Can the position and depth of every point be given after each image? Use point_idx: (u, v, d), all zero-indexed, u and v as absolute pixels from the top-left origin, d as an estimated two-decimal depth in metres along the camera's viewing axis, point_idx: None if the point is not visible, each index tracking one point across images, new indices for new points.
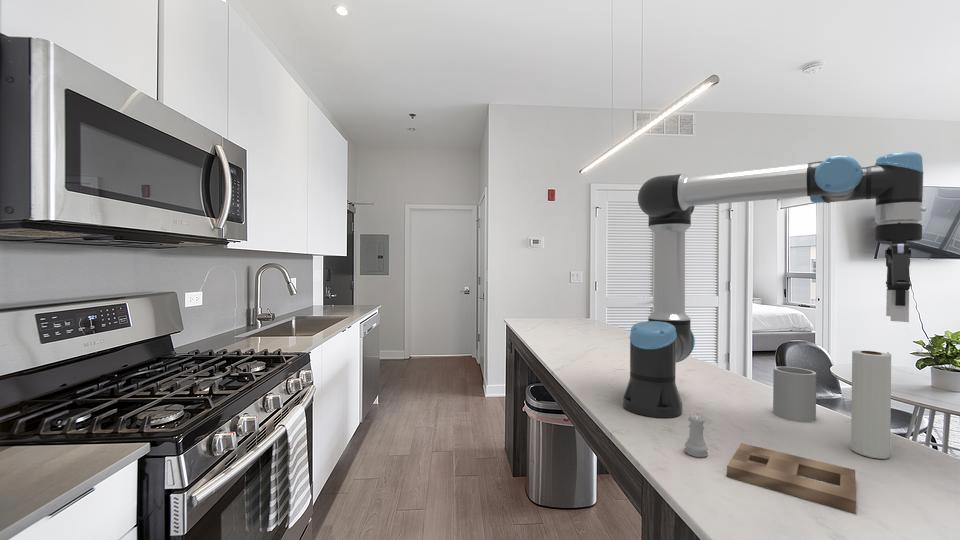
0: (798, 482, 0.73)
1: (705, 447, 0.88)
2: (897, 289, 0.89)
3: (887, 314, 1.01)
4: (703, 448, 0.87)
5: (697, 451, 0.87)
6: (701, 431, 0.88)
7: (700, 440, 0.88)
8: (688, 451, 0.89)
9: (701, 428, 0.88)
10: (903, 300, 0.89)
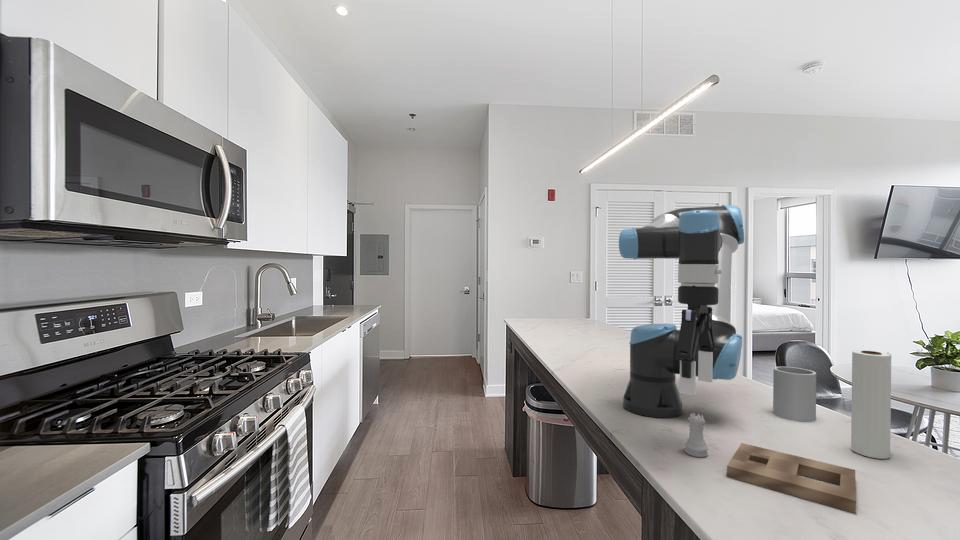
0: (798, 482, 0.73)
1: (705, 447, 0.88)
2: (682, 360, 0.83)
3: (698, 378, 0.95)
4: (703, 448, 0.87)
5: (697, 451, 0.87)
6: (701, 431, 0.88)
7: (700, 440, 0.88)
8: (688, 451, 0.89)
9: (701, 428, 0.88)
10: (687, 372, 0.82)
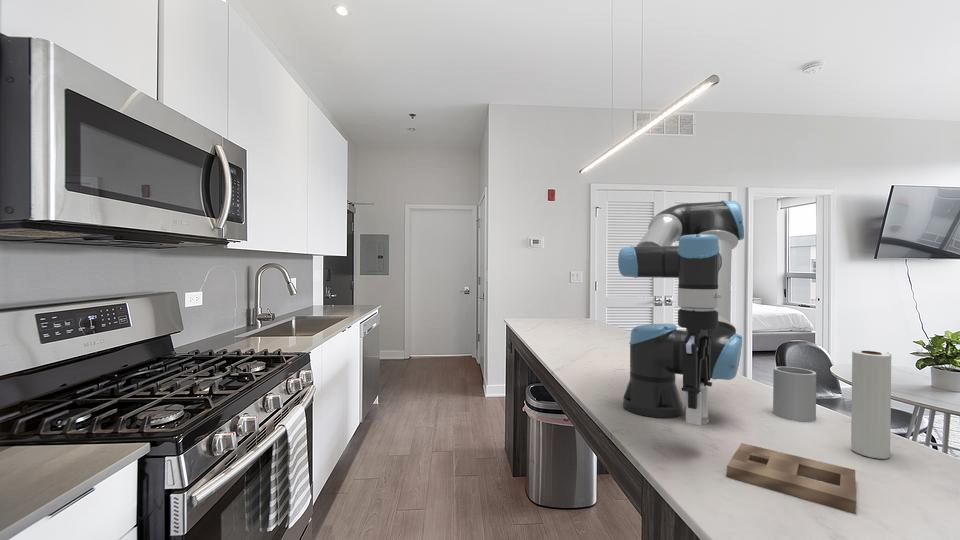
0: (798, 482, 0.73)
1: (706, 414, 0.88)
2: (688, 392, 0.87)
3: None
4: (703, 415, 0.88)
5: None
6: (702, 399, 0.89)
7: None
8: None
9: (702, 395, 0.89)
10: (693, 403, 0.86)
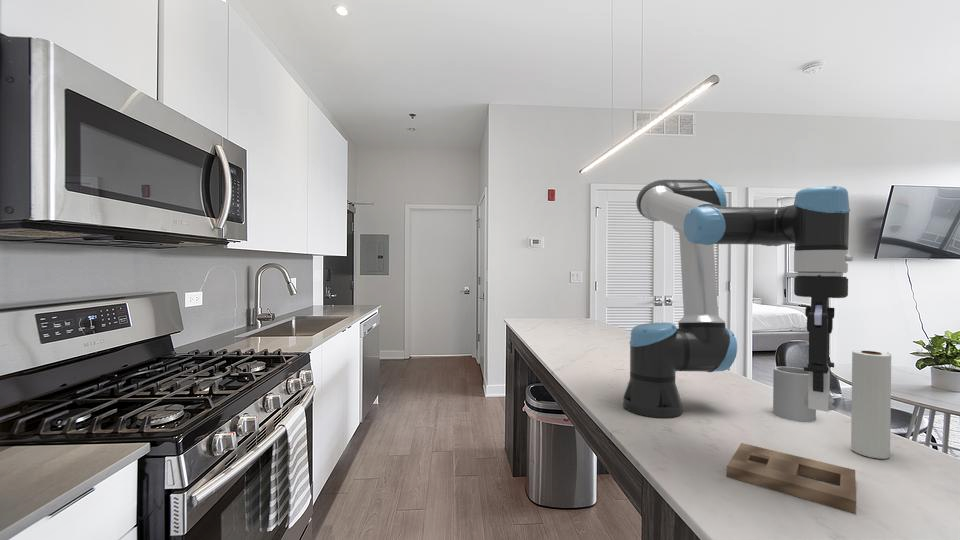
0: (798, 482, 0.73)
1: (832, 399, 0.75)
2: (814, 371, 0.73)
3: None
4: (830, 399, 0.74)
5: None
6: None
7: None
8: None
9: None
10: (821, 385, 0.73)
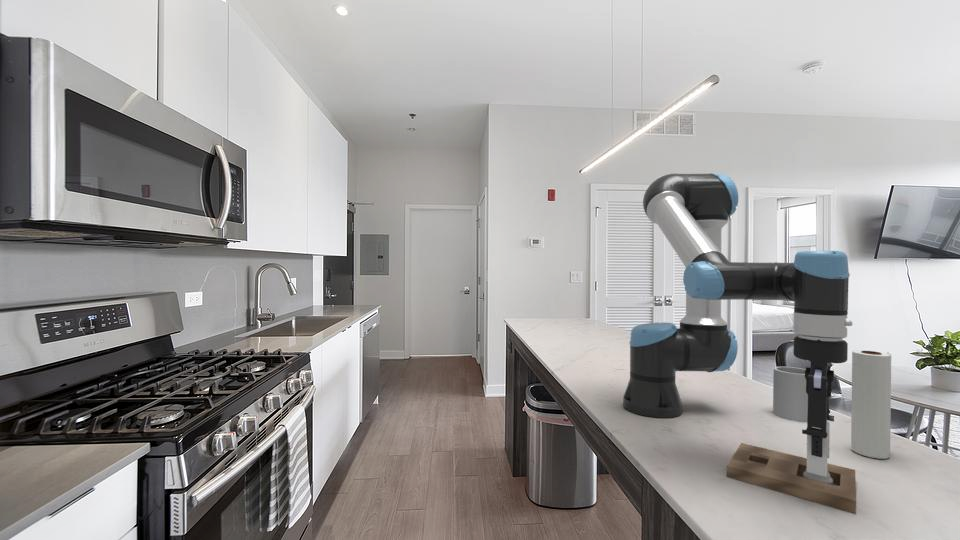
0: (798, 482, 0.73)
1: (831, 479, 0.75)
2: (812, 436, 0.71)
3: None
4: (829, 480, 0.74)
5: None
6: None
7: None
8: None
9: None
10: (819, 450, 0.71)
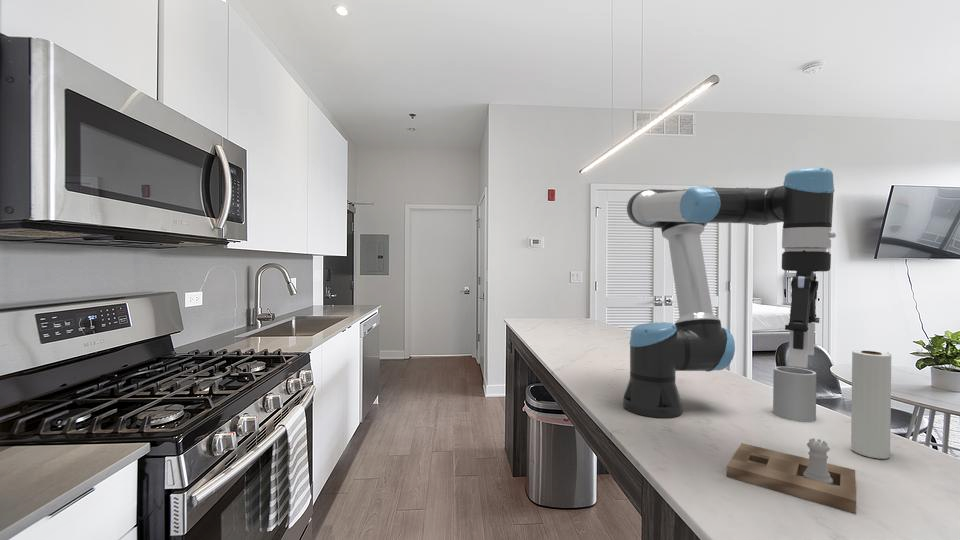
0: (798, 482, 0.73)
1: (831, 479, 0.75)
2: (794, 330, 0.77)
3: None
4: (829, 480, 0.74)
5: None
6: (826, 461, 0.75)
7: (824, 471, 0.75)
8: None
9: (825, 457, 0.75)
10: (800, 343, 0.77)
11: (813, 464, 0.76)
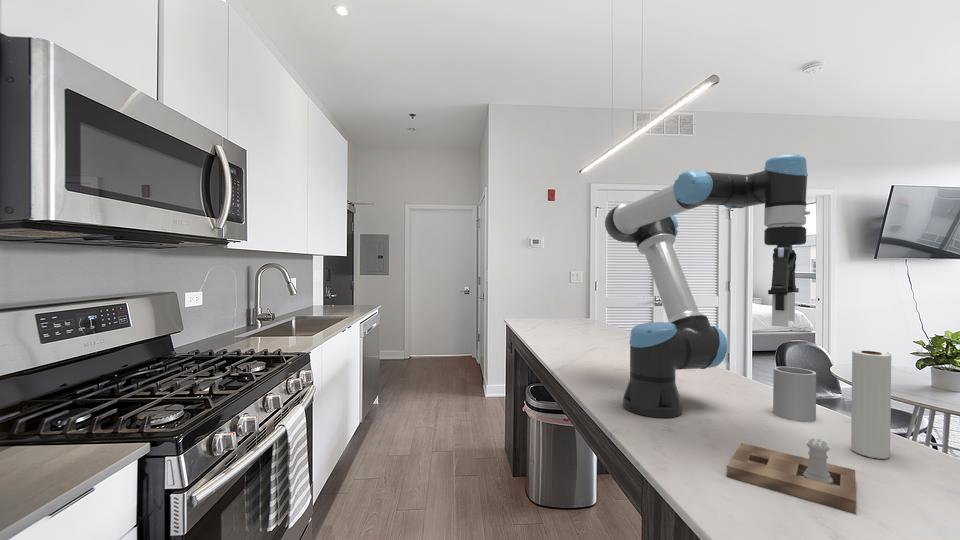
0: (798, 482, 0.73)
1: (831, 479, 0.75)
2: (776, 293, 0.88)
3: None
4: (829, 480, 0.74)
5: None
6: (826, 461, 0.75)
7: (824, 471, 0.75)
8: None
9: (825, 457, 0.75)
10: (781, 305, 0.88)
11: (813, 464, 0.76)
